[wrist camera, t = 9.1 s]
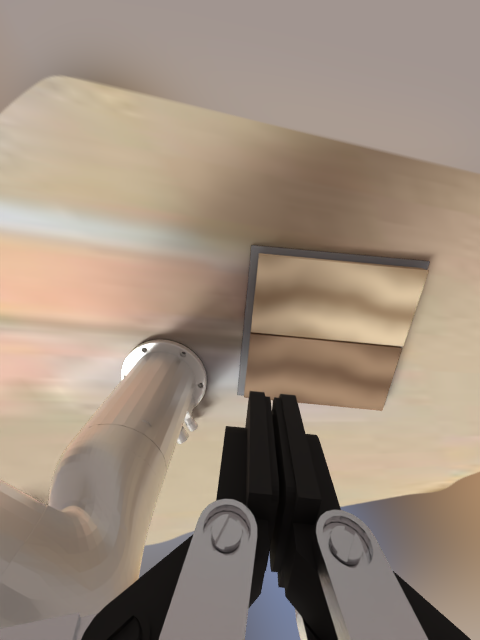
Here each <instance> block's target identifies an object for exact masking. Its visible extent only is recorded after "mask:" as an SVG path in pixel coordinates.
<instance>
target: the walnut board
mask: <svg viewBox="0 0 480 640" xmlns="http://www.w3.org/2000/svg"><path fill="white" fill-rule="evenodd" d="M401 350H402V348H401V347H400V346H393V345H382V344H372V343H361V342H350V341H340V340H329V339H319V338H308V337H297V336H287V335H276V334H265V333H255V332H250V342H249V351H248V360H247V370H246V379H245V389H244V397H246V398H249V393H250V391H257V392H264V393H265V396H267V397H270V400H274V397H277V398H279V396H280V394H288V395H295V396H296V399H297V402H298V403H308V404H318V405H329V406H339V407H349V408H360V409H370V410H380V411H382V410H383V407H384V404H385V400H386V397H387V394H388V391H389V388H390V385H391V382H392V379H393V375H394V372H395V369H396V366H397V363H398V360H399V357H400V354H401Z"/></svg>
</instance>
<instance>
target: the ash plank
mask: <svg viewBox="0 0 480 640" xmlns="http://www.w3.org/2000/svg"><path fill="white" fill-rule="evenodd" d="M428 272H429V270H426V269H423V268H416V267H405V266H394V265H383V264H372V263H361V262H350V261H339V260H328V259H317V258H306V257H295V256H284V255H273V254H262V253H259V258H258V267H257V276H256V286H255V295H254V304H253V314H252V323H251V332H255V333H265V334H276V335H287V336H297V337H308V338H319V339H329V340H340V341H350V342H361V343H372V344H382V345H393V346H404V343H405V340H406V337H407V334H408V331H409V328H410V325H411V322H412V319H413V316H414V313H415V310H416V308H417V305H418V302H419V299H420V296H421V293H422V290H423V287H424V284H425V281H426V278H427V275H428Z"/></svg>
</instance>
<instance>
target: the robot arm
mask: <svg viewBox="0 0 480 640" xmlns="http://www.w3.org/2000/svg"><path fill="white" fill-rule="evenodd" d="M184 352H185V353H184ZM121 378H122V380H121V382H120V383H119V384H118V385H117V386H116V388H115V389H114V390H113V391H112V393H111V394H110V395H109V396H108V397H107V399H106V400H105V401H104V402H103V404H102V405H101V406H100V407H99V408H98V410H97V411H96V412H95V413H94V414H93V416H92V417H91V418H90V419H89V421H88V422H87V423H86V424H85V425H84V427H83V428H82V429H81V430H80V432H79V433H78V434H77V435H76V436H75V438H74V439H73V440H72V441H71V443H70V444H69V445H68V446H67V448H66V449H65V450H64V452H63V453H62V455H61V457H60V459H59V461H58V463H57V465H56V468H55V471H54V474H53V477H52V481H51V486H50V492H49V502H48V505H45V504H43V503H41V502H39V501H38V500H36V499H34V498H32V497H31V496H29V495H27V494H25V493H24V492H22V491H20V490H18V489H16V488H15V487H13V486H11V485H9V484H8V483H6V482H4V481H2V480H1V479H0V640H245V632H246V623H247V615H248V609H249V607H250V606H251V605H252V604H253V603H254V601H255V600H256V599H257V598H258V596H259V595H260V594H261V589H262V583H263V578H264V573H265V571H266V567H267V562H268V556H269V551H270V566H271V571H272V572H278V585H279V587H283V588H285V596H286V598H287V599H288V600H289V601H290V603H291V604H292V605H293V606H294V607H295V612H296V621H297V626H298V630H299V635H300V639H301V640H471V639H470V638H469V637H467V636H466V635H465V634H464V633H463V632H462V631H461V630H460V629H458V628H457V627H456V626H455V625H454V624H453V623H452V622H450V621H449V620H448V619H447V618H446V617H445V616H444V615H442V614H441V613H440V612H439V611H438V610H436V608H434V607H433V606H432V605H431V604H430V603H429V602H427V601H426V600H425V599H424V598H423V597H422V596H421V595H420V594H419V593H417V592H416V591H415V590H414V589H413V588H412V587H411V586H409V585H408V584H407V583H406V582H405V581H404V580H403V579H401V578H400V577H399V576H398V575H397V574H396V573H394V571H392V569H391V567H390V565H389V563H388V561H387V559H386V557H385V555H384V554H383V552H382V550H381V548H380V546H379V544H378V542H377V540H376V538H375V537H374V535H373V534H372V532H371V531H370V529H369V528H368V527H367V526H366V525H365V524H364V523H363V522H362V521H361V520H360V519H358V518H357V517H355V516H354V515H352V514H350V513H347V512H345V511H342V510H341V509H340V506H339V503H338V499H337V496H336V493H335V490H334V486H333V483H332V480H331V476H330V473H329V470H328V467H327V463H326V460H325V457H324V454H323V450H322V447H321V444H320V441H319V438H318V436H317V435H311V434H305V431H304V427H303V423H302V419H301V415H300V411H299V407H298V403H297V399H296V396H295V395H288V394H280V396H279V398H277V397H274V400H273V407H272V410H271V400H270V397H267V396H265V393H264V392H257V391H250V393H249V401H248V410H247V419H246V427H245V428H240V427H230V426H226V429H225V437H224V445H223V453H222V460H221V468H220V476H219V484H218V492H217V500H216V501H215V502H213V503H211V504H209V505H208V506H207V507H206V508H205V509H204V510H203V511H202V513H201V515H200V517H199V519H198V522H197V525H196V528H195V531H194V534H193V535H192V536H191V537H189V538H188V539H187V540H186V541H184V542H183V543H182V544H181V545H180V546H178V547H177V548H176V549H175V550H173V551H172V552H171V553H170V554H169V555H167V556H166V557H165V558H164V559H162V560H161V561H160V562H159V563H158V564H156V565H155V566H154V567H153V568H151V569H150V570H149V571H148V572H146V573H145V574H144V575H143V576H142V577H140V578H139V573H140V566H141V561H142V555H143V550H144V546H145V542H146V537H147V533H148V529H149V526H150V522H151V518H152V515H153V512H154V509H155V505H156V502H157V499H158V496H159V493H160V490H161V487H162V484H163V481H164V478H165V475H166V472H167V469H168V466H169V463H170V460H171V458H172V455H173V452H174V449H175V446H176V443H178V444H181V443H183V442H185V441H186V440H187V438H188V433H187V432H186V430H185V429H184V427H183V426H182V425H183V422H184V421H185V423H186V425H187V427H188V429H189V430H190V431H194V430H195V429H196V428H197V427H198V425H197V423H196V421H195V420H194V419H193V417H192V416H191V414H192V410H193V408H194V407H195V406H197V405H198V403H199V402H200V401H201V400H202V398H203V396H204V393H205V390H206V385H207V375H206V371H205V368H204V366H203V364H202V362H201V360H200V359H199V358H198V357H197V355H196V354H195V353H194V352H192V351H191V350H190V349H189V348H187V347H185V346H184V345H182V344H179V343H177V342H174V341H169V340H151V341H147V342H145V343H142V344H140V345H139V346H137V347H136V348H134V349H133V350H132V351H131V352H130V354H129V355H128V356H127V357H126V359H125V361H124V363H123V366H122V370H121Z"/></svg>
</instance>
